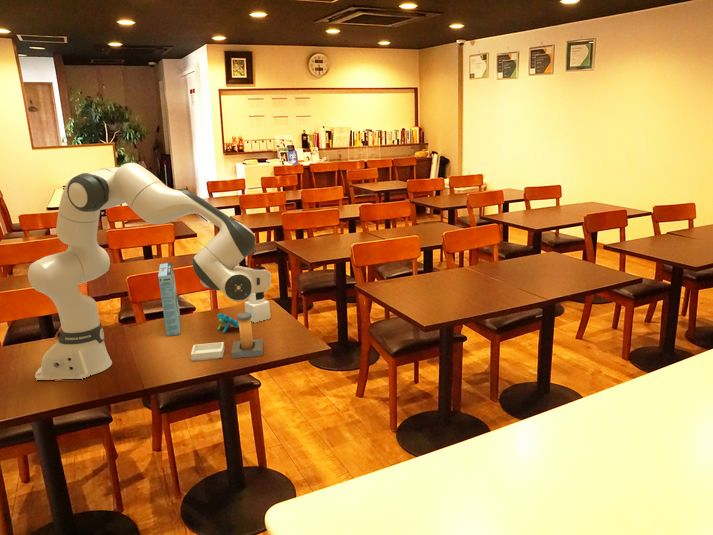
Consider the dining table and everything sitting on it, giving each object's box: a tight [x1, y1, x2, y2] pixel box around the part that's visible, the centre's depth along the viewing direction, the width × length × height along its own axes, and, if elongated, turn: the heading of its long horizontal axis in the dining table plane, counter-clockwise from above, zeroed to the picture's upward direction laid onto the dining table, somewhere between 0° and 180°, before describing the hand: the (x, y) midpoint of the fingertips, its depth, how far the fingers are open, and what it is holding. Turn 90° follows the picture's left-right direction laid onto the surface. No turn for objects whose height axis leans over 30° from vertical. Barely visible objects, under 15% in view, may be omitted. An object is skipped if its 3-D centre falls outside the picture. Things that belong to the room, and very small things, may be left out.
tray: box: [190, 341, 225, 362], centre depth 196 cm, size 10×8×2 cm
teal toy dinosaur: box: [217, 313, 239, 334], centre depth 216 cm, size 11×6×10 cm
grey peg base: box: [230, 338, 264, 359], centre depth 198 cm, size 10×10×2 cm
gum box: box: [157, 262, 181, 337], centre depth 221 cm, size 20×5×23 cm, turn 15°
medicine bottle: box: [243, 292, 272, 324], centre depth 226 cm, size 7×7×12 cm
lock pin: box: [236, 311, 254, 349], centre depth 196 cm, size 5×5×13 cm
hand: (236, 276), depth 181 cm, fingers open, 8 cm apart
